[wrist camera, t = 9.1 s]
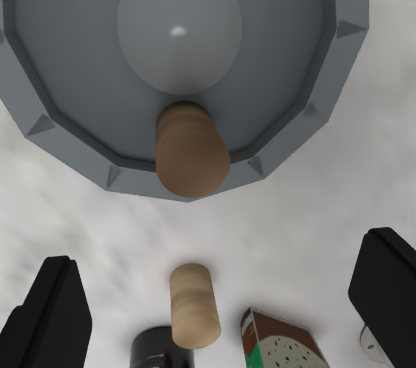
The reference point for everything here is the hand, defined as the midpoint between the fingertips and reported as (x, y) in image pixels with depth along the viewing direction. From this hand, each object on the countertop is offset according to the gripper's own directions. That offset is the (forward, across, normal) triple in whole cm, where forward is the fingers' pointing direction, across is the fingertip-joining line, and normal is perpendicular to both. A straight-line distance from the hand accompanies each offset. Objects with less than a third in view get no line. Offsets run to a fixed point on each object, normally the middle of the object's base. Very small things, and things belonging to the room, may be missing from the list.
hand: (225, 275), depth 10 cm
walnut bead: (+14, 0, -1) cm, 14 cm away
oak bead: (+15, +1, +15) cm, 21 cm away
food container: (+16, -8, +26) cm, 31 cm away
